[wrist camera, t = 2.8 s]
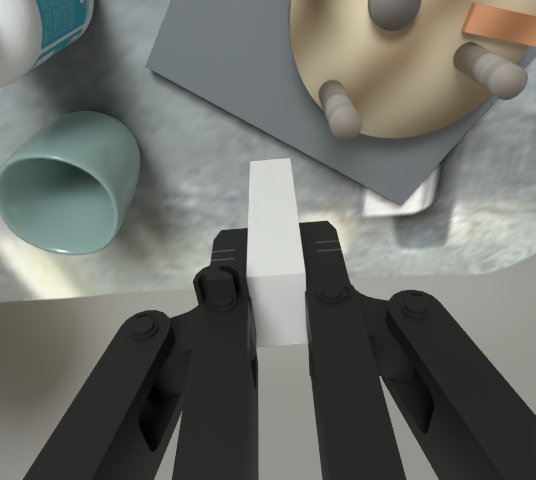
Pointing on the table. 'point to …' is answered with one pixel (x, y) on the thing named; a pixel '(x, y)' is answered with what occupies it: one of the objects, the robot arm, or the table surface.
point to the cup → (71, 183)
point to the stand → (287, 91)
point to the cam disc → (408, 60)
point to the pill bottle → (37, 32)
